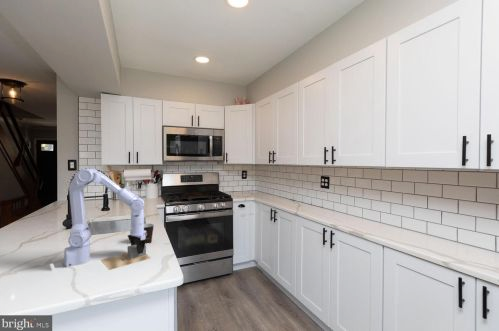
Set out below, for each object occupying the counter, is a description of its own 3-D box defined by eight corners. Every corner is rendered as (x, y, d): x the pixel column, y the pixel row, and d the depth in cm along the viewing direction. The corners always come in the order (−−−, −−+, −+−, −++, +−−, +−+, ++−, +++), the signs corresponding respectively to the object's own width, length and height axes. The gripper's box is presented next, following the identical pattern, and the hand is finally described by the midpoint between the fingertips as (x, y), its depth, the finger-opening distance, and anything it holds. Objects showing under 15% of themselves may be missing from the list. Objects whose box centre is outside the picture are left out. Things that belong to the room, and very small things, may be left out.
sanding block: (130, 259, 110) (130, 248, 110) (127, 256, 114) (127, 246, 113) (145, 255, 115) (146, 245, 115) (142, 252, 119) (142, 243, 118)
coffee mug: (156, 240, 140) (156, 224, 140) (146, 245, 132) (146, 228, 131) (140, 238, 143) (140, 222, 143) (129, 243, 135) (129, 226, 135)
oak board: (109, 272, 100) (109, 269, 100) (100, 262, 110) (100, 259, 110) (151, 260, 113) (151, 257, 113) (140, 252, 122) (140, 249, 122)
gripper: (151, 224, 112) (151, 253, 112) (140, 219, 122) (140, 245, 123) (136, 227, 107) (136, 257, 107) (125, 221, 117) (125, 248, 118)
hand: (137, 251), depth 115 cm, fingers open, 7 cm apart
